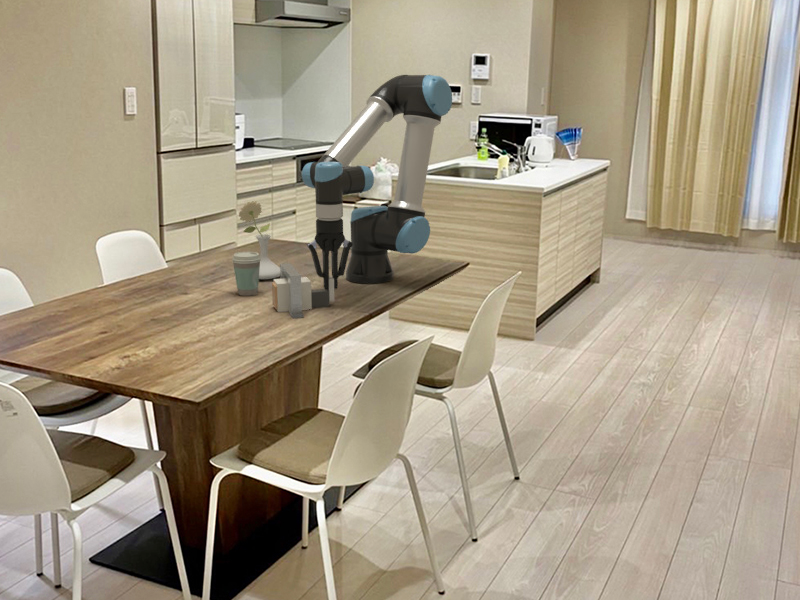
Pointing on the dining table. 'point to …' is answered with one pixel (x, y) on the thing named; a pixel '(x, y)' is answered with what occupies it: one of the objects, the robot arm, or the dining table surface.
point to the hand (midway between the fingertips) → (330, 300)
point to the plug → (308, 296)
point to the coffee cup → (247, 272)
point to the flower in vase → (260, 240)
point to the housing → (293, 289)
